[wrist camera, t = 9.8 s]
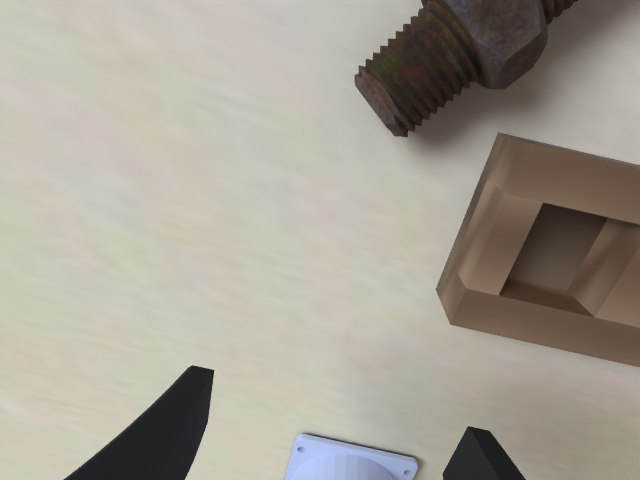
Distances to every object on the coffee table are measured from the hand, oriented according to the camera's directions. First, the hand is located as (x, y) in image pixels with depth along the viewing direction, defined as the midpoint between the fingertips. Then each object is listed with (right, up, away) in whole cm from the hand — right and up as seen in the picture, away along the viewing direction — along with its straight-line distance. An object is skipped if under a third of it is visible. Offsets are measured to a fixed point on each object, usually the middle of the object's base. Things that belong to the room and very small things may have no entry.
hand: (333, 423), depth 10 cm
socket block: (+13, +5, +7) cm, 16 cm away
